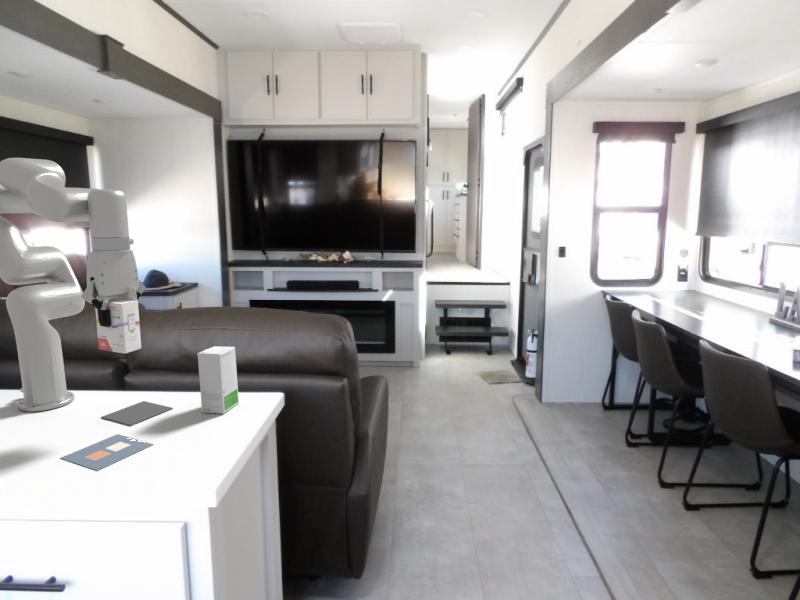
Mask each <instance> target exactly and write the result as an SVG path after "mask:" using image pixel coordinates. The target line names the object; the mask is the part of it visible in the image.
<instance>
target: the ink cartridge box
mask: <svg viewBox="0 0 800 600" xmlns="http://www.w3.org/2000/svg"><path fill="white" fill-rule="evenodd" d="M107 309H109V310H110V318H111V326H110V327H104V326H100V323H99V321H98V310H97V309H95V308H94V311H95V312H94V313H95V321H96V331H97V332H96V333H97V343H98V344H97V345H98V350H101V351H108V352H114V353H118V354H119V353H120V354H124V355H125V354H129V353H132V352H135V351H138V350H141V349H142V341H141V339H142V337H141V327H140V311H139V301H138V300H137V295H136V289H135V288H134V287H130V292H129V293H128V294H122V295H116V296H110V297H109V301H108V306H107Z"/></svg>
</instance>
